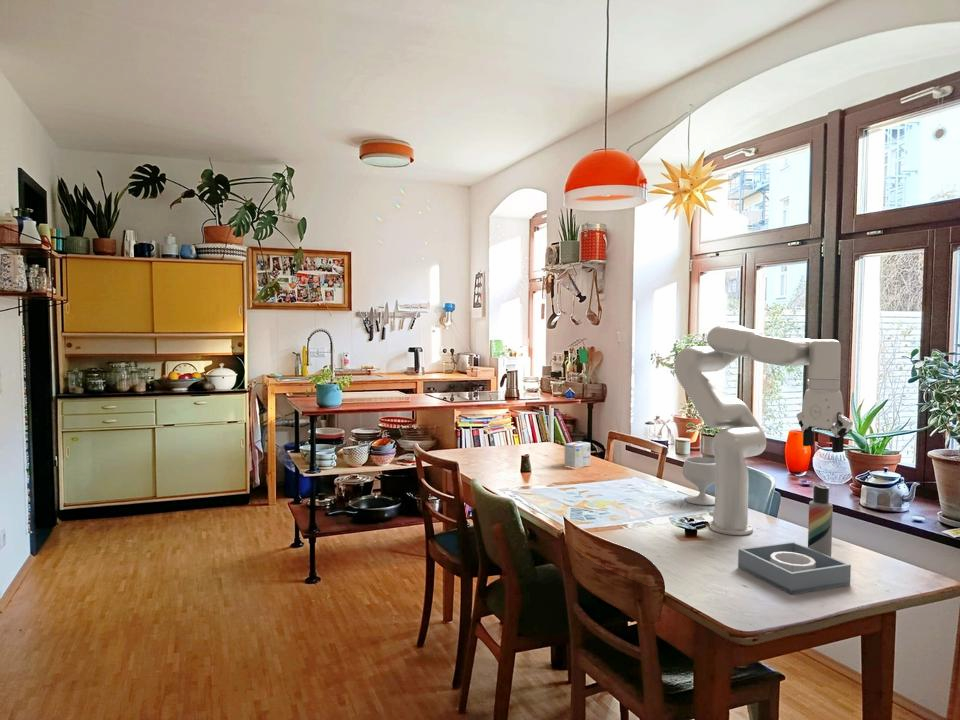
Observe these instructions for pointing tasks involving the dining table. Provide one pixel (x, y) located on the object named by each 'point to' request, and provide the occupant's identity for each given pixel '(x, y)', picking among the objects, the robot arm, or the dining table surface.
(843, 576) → the socket box
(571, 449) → the light bulb box
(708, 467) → the chalice
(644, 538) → the dining table surface
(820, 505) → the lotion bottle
